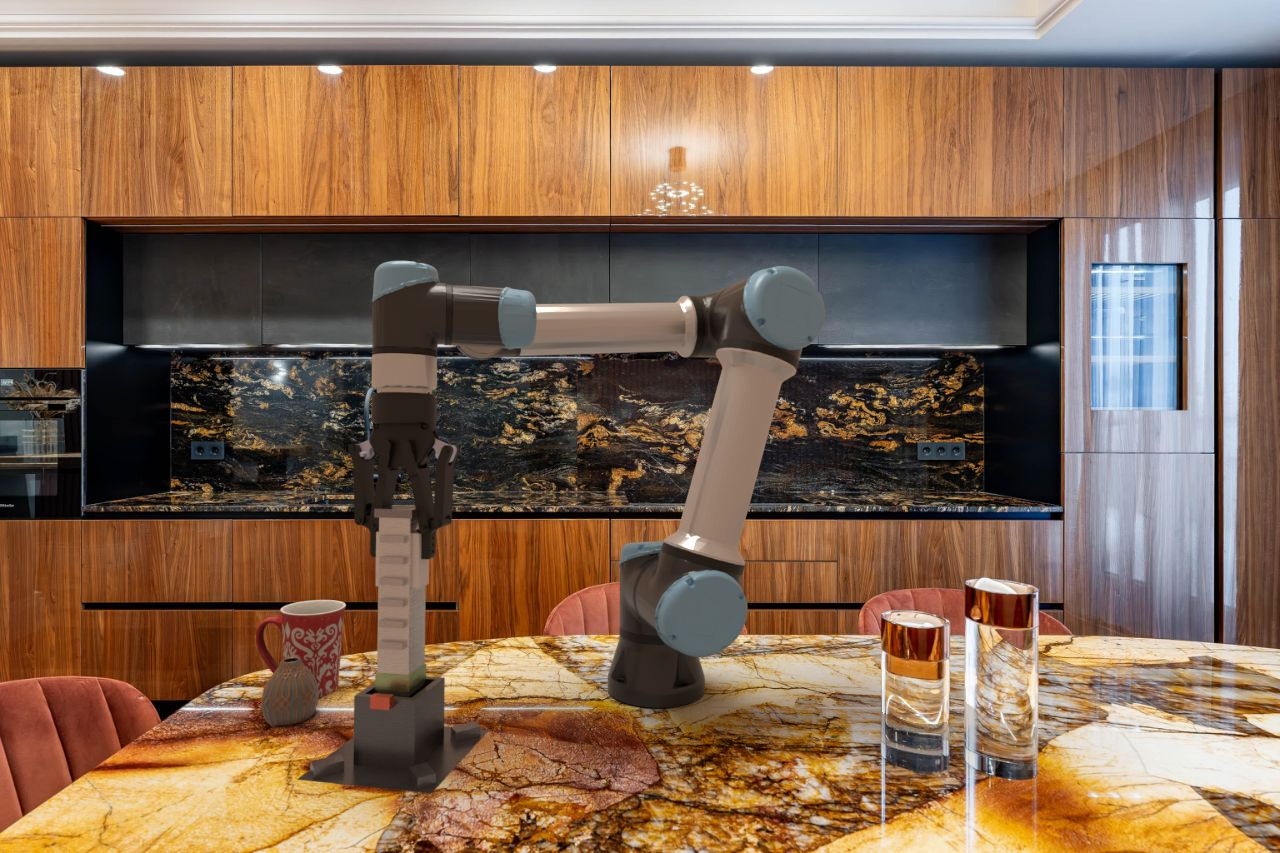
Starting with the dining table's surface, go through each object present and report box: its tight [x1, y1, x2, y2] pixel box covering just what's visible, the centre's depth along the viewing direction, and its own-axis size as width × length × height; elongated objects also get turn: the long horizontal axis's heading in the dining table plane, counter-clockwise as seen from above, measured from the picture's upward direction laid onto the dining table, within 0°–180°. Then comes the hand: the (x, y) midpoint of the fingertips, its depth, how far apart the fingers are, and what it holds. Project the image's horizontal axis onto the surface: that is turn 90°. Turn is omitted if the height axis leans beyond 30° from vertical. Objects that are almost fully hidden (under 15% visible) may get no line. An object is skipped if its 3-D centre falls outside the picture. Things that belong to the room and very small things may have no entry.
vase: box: [261, 657, 319, 728], centre depth 94 cm, size 7×7×9 cm
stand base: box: [297, 675, 489, 794], centre depth 84 cm, size 16×16×10 cm
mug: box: [255, 599, 347, 701], centre depth 104 cm, size 13×9×14 cm
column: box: [374, 504, 427, 697], centre depth 84 cm, size 5×5×22 cm
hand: (402, 584), depth 84 cm, fingers closed on column, 4 cm apart
